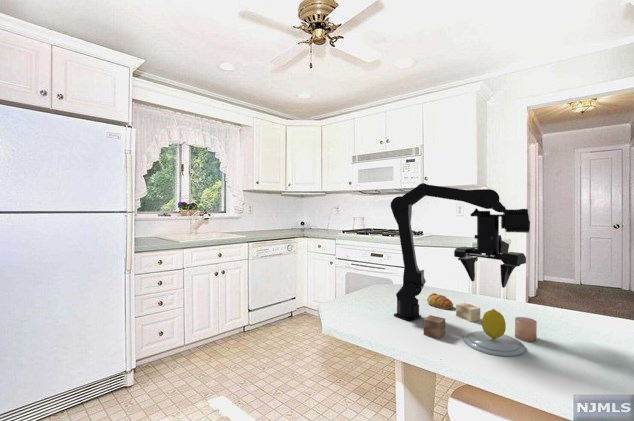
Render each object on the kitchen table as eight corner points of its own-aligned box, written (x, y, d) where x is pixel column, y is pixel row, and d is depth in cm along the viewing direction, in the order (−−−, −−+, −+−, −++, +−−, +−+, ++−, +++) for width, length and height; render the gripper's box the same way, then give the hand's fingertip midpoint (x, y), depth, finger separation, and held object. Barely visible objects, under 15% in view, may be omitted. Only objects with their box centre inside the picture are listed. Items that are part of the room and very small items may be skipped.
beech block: (456, 316, 108) (456, 304, 108) (465, 314, 109) (465, 302, 109) (471, 322, 102) (471, 309, 102) (480, 320, 104) (480, 307, 104)
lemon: (509, 344, 83) (509, 313, 83) (485, 343, 84) (485, 312, 84) (501, 335, 88) (501, 306, 88) (479, 334, 89) (479, 305, 89)
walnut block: (423, 335, 93) (423, 319, 93) (429, 330, 96) (429, 315, 96) (439, 339, 90) (439, 322, 90) (445, 334, 93) (445, 318, 93)
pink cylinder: (511, 337, 90) (511, 319, 90) (520, 333, 93) (520, 315, 93) (531, 343, 86) (531, 324, 86) (539, 339, 89) (540, 320, 89)
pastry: (458, 308, 115) (458, 298, 115) (443, 311, 113) (443, 300, 112) (438, 301, 124) (438, 291, 124) (424, 304, 121) (424, 293, 121)
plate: (453, 341, 88) (453, 336, 88) (482, 329, 96) (482, 325, 96) (507, 362, 76) (508, 357, 76) (535, 346, 84) (535, 342, 84)
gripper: (535, 232, 94) (534, 286, 94) (472, 228, 109) (472, 275, 109) (516, 234, 87) (516, 292, 88) (453, 230, 103) (453, 279, 103)
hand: (487, 284), depth 97 cm, fingers open, 9 cm apart
